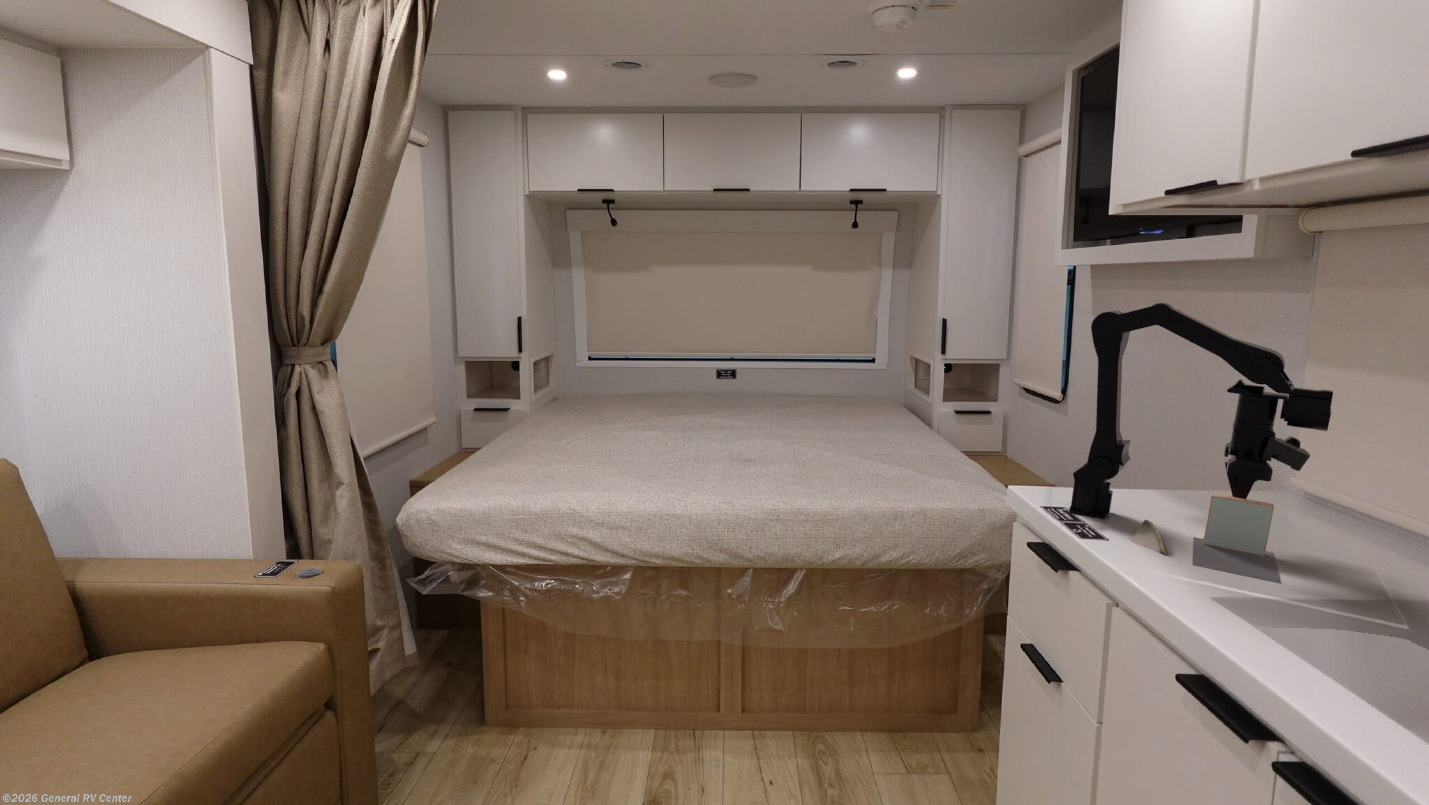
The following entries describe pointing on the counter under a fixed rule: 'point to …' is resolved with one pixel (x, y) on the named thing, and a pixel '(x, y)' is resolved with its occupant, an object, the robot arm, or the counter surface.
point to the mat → (1235, 561)
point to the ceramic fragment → (1149, 537)
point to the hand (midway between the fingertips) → (1238, 506)
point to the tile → (1238, 524)
